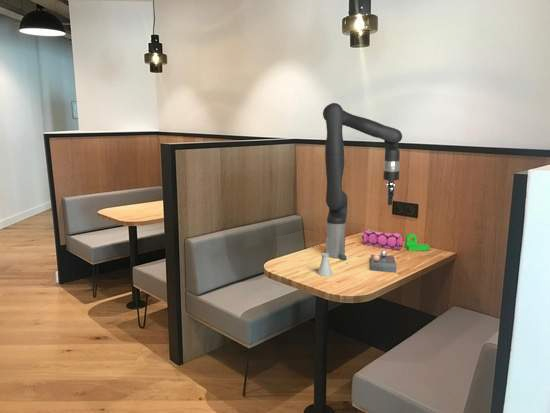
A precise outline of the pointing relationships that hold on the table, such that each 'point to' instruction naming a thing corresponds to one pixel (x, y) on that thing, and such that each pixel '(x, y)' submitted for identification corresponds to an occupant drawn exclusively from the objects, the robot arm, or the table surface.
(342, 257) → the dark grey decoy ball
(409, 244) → the mechanical part
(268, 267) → the table surface
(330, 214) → the robot arm
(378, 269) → the grey ball holder tray
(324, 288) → the table surface
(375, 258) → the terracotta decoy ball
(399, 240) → the pencil case
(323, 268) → the flask
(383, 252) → the steel ball
